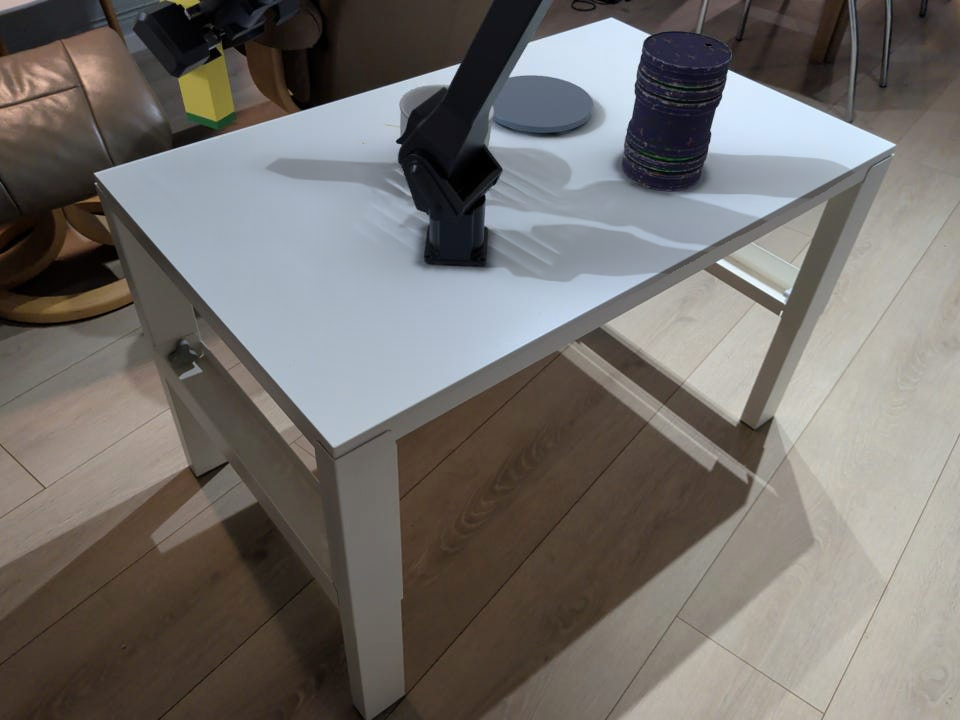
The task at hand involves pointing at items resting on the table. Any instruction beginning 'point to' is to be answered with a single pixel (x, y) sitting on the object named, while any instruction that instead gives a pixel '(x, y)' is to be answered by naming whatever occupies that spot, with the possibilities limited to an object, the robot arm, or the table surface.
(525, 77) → the plate
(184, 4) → the yellow green tall block
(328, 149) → the table surface
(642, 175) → the dark purple barrel
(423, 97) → the teacup
